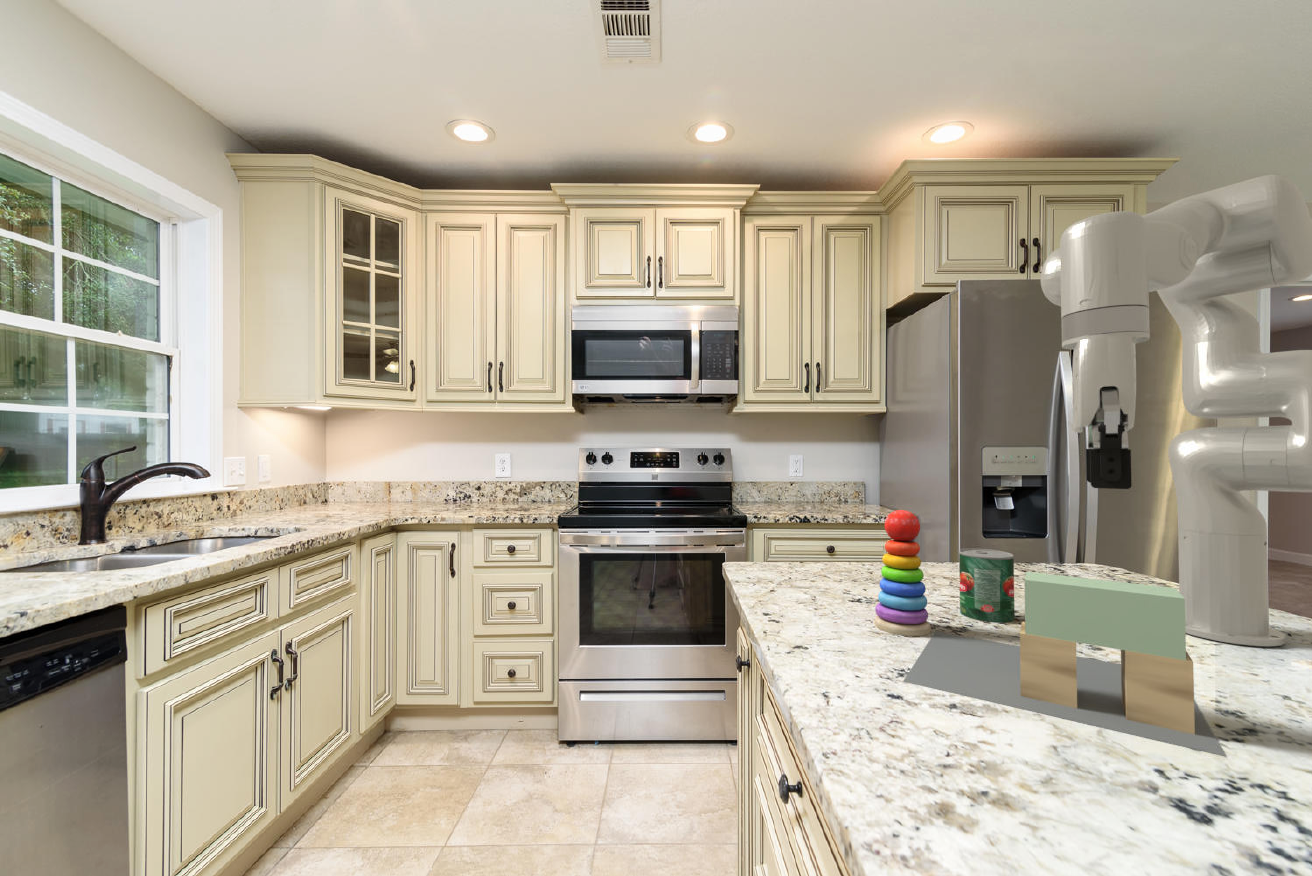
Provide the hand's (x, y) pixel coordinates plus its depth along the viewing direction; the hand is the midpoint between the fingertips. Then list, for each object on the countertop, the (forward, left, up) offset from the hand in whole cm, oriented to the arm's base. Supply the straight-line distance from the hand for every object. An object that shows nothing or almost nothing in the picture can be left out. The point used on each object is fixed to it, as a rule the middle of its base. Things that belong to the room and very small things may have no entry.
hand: (1107, 485), depth 60 cm
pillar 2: (+2, +3, -24) cm, 24 cm away
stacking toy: (-13, -24, -25) cm, 37 cm away
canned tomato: (-28, -14, -25) cm, 40 cm away
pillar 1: (+2, -6, -24) cm, 24 cm away
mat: (-3, -6, -24) cm, 25 cm away
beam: (+2, -1, -17) cm, 17 cm away
